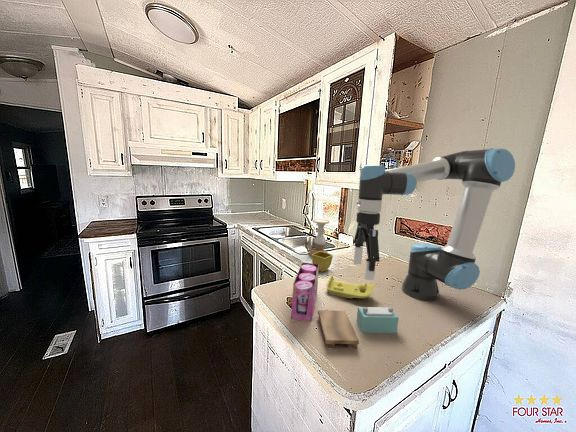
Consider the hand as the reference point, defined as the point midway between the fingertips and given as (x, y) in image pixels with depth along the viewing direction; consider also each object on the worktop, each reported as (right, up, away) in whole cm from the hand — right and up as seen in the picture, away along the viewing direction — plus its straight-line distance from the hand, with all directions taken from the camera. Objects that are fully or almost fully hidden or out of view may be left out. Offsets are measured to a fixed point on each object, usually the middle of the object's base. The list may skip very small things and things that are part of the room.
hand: (362, 271), depth 84 cm
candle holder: (-6, -7, +70) cm, 70 cm away
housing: (+5, -20, 0) cm, 21 cm away
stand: (-10, -20, -4) cm, 23 cm away
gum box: (-19, -17, +13) cm, 29 cm away
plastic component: (+1, -16, +22) cm, 27 cm away
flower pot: (-8, -11, +49) cm, 51 cm away
